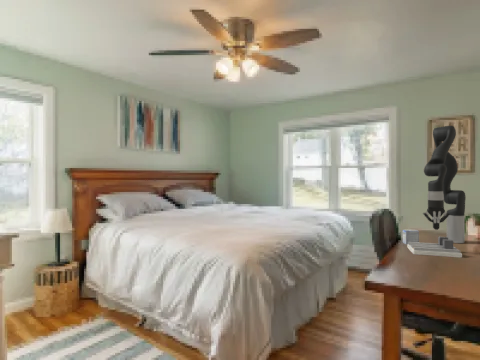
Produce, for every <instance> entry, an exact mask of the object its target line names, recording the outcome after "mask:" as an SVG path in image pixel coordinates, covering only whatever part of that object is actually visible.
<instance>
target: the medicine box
mask: <svg viewBox="0 0 480 360" xmlns="http://www.w3.org/2000/svg"><path fill="white" fill-rule="evenodd" d="M409 242H420V231H419V230H418V229H402V243H403V244H404V245H407V244H409Z"/></svg>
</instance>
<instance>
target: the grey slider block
mask: <svg viewBox="0 0 480 360" xmlns="http://www.w3.org/2000/svg"><path fill="white" fill-rule="evenodd" d="M453 246H454V243H453V240H447V239H443V249H453Z"/></svg>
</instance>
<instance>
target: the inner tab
mask: <svg viewBox="0 0 480 360" xmlns="http://www.w3.org/2000/svg"><path fill="white" fill-rule="evenodd" d="M443 239H447V240H448V237H447V236H438V237H437V244H438V245H441V246H443Z"/></svg>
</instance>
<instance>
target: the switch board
mask: <svg viewBox="0 0 480 360" xmlns="http://www.w3.org/2000/svg"><path fill="white" fill-rule="evenodd" d="M406 247H407V248H408V250H409V251H410V252H411V253H412V254H413V255H420V256H436V257H448V258H449V257H450V258H451V257H452V258H463V254H462V252H461V249H458V248H457V247H455V246H454V245H453V249H443V246H441V245H438V242H437V243H434V242H420V241H419V242H409V244H406Z"/></svg>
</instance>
